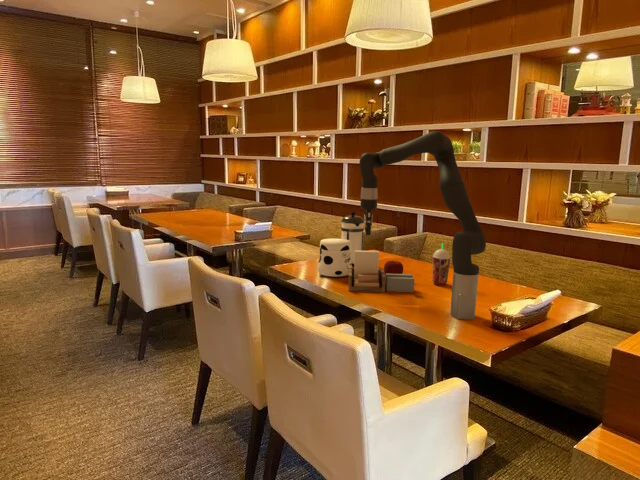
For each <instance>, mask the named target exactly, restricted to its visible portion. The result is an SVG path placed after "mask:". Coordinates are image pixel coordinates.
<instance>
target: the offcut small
mask: <svg viewBox="0 0 640 480" xmlns="http://www.w3.org/2000/svg"><path fill="white" fill-rule="evenodd" d="M378 278H379V276H378V274H377V273H357V281H358V283H378Z"/></svg>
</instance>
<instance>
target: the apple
mask: <svg viewBox="0 0 640 480" xmlns="http://www.w3.org/2000/svg"><path fill="white" fill-rule="evenodd" d="M383 271H384V274H385V277H386V274H404V265H403V263H402V262H401V261H396V260H394V259H393V260H388V261H386V262H385V264H384V266H383Z"/></svg>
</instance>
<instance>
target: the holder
mask: <svg viewBox="0 0 640 480" xmlns="http://www.w3.org/2000/svg"><path fill="white" fill-rule="evenodd" d="M385 292H398V293H399V292H401V293H402V292H405V293H413V295H414V294H415V277H413V274H412V273H410V274H409V273H408V274H407V273H403V274H386V276H385Z"/></svg>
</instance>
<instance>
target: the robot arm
mask: <svg viewBox="0 0 640 480" xmlns="http://www.w3.org/2000/svg"><path fill="white" fill-rule="evenodd" d="M420 154H429V155H432V156H433V158H434V159H435V162H436V164H437V166H438V170H439V171H438V172H439V190H440V193H441V196H442V200H443V202H444V204H445V206H446V207H447V208H448V209H449V211H450V212H451V213H452V214H453V215H454V216H455V217H456V219H458V221H459V223H460V224H461V225H460V226H461V227H462V230H460V231H458V232H456V233H455V234H454V236H453V239H452V243H451V245H452V247H451V249H452V250H451V251H452V252H451V254H452V255H451V264H452V267H453V268H452V269H453V271H452V285H451V297H450V312H449V315H450V316H451V317H453V318H455V319H457V320H470V321H471V320H474V321H475V318H476V310H477V309H476V308H477V296H478V284H479V275H480V274H479V273H480V266H479V265H478V264H476V263H473V262H472V256H474V255H480V254H482V253H484V252H485V250H486V247H487V240H486V236H485V234H484V231H483V230H482V227H481V225H480V223H479V221H478V219H477V216H476V214H475V212H474V209H473V206H472V203H471V200H470V198H469V193H468V191H467V189H466V185H465V182H464V179H463V177H462V174H461V171H460V169H459V167H458V166H459V165H457V161H456V156H455V152H454V146H453V142H452V140H451V139H450V137H449V136H448V135H446V134H445V133H443V132H441V131H439V130H434V131H430V132H427V133H425V134H424V135H421V136H419V137H417V138H414V139H411V140H410V141H406V142H404V143H401V144H398V145H393V146H389V147H387V148H384V149H382V150H380V151H378V152H377V151H376V152H365V153H362V154H361V156H360V158H359V170H360V171H359V172H360V175H361V189H360V209H363V210H364V212H363V216H364V217H363V220H364V224H365V225H364V232H365V235H366V236H371V234H372V233H371V231H372V225H373V224H372V223H373V217H374V212H373V211H372V210H377V208H378V197H379V196H378V195H379V194H378V192H379V191H378V182H379V181H378V179H379V178H378V176H377V175H376V174H375V169H378V168H379V169H380V168H383V167H384V166H387V165H388V166H389V165H393V164H397V163H401V162H403V161H405V160H407V159H408V158H410V157H412V156H415V155H420Z"/></svg>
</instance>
